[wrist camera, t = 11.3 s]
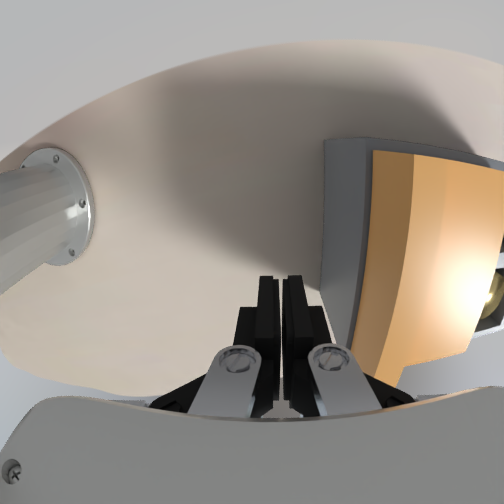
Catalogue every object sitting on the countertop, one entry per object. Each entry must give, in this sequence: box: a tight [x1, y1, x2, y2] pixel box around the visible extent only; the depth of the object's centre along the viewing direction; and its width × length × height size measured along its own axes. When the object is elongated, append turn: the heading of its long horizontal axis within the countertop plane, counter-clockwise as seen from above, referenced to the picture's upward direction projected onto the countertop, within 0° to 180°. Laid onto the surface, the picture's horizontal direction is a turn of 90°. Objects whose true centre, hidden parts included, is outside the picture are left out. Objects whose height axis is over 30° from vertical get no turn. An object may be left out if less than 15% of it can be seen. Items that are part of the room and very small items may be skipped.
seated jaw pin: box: [479, 271, 504, 319], centre depth 19 cm, size 4×4×9 cm
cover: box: [350, 150, 504, 388], centre depth 12 cm, size 9×12×4 cm
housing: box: [320, 137, 504, 350], centre depth 18 cm, size 18×14×10 cm
